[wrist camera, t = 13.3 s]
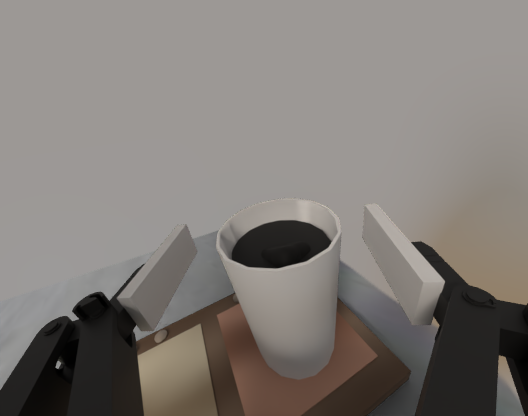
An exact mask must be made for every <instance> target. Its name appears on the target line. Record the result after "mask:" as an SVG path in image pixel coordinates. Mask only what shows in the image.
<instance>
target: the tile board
mask: <svg viewBox="0 0 528 416" xmlns="http://www.w3.org/2000/svg"><path fill="white" fill-rule="evenodd" d="M136 347H137V356H138V365H139V374H140V383H141V392H142V401H143V410H144V416H367V415H368V414H369V413H370V412H371V411H372V410H374V409H375V408H376V407H377V406H378V405H379V404H381V403H382V402H383V401H384V400H385V399H386V398H387V397H389V396H390V395H391V394H392V393H393V392H394V391H395V390H397V389H398V388H399V387H400V386H401V385H402V384H403V383H405V382H406V381H407V380H408V379H409V376H410V373H411V371H410V370H409V369H408V368H407V367H406V366H405V365H404V364H403V363H402V362H401V361H400V360H399V359H398V358H397V357H396V356H395V355H394V354H393V353H392V352H391V351H390V350H389V349H388V348H387V347H386V346H385V345H384V344H383V343H382V342H381V341H380V340H379V339H378V338H377V337H376V336H375V335H374V334H373V333H372V332H371V331H370V330H369V329H368V327H367V326H366V325H365V324H364V323H363V322H362V321H361V320H360V319H359V318H358V317H357V316H356V315H355V314H354V313H353V312H352V311H351V310H350V309H349V308H348V307H347V306H346V305H345V304H344V303H343V302H342V301H341V300H340V299H339V298H338V297H337V309H336V325H335V341H334V350H333V352H332V355H331V357H330V360H329V363H328V364H327V365H326V366H325V367H324V368H323V369H322V370H321V371H320V372H319V373H317V374H316V375H315V376H311V377H307V378H304V379H300V380H297V379H292V378H287V377H283V376H280V375H279V374H278V373H277V372H275V371H274V370H273V369H271V368H270V367H269V366H268V365H267V364H266V362H265V360H264V358H263V356H262V355H261V353H260V351H259V348H258V346H257V343H256V341H255V339H254V336H253V334H252V332H251V329H250V327H249V324H248V322H247V320H246V317H245V315H244V312H243V310H242V308H241V305H240V303H239V300H238V298H237V296H236V293H234V294H232V295H230V296H227V297H225V298H223V299H221V300H219V301H217V302H215V303H213V304H211V305H209V306H207V307H205V308H203V309H201V310H199V311H197V312H195V313H193V314H191V315H189V316H187V317H185V318H183V319H181V320H179V321H177V322H175V323H173V324H171V325H169V326H167V327H165V328H163V329H161V330H159V331H157V332H155V333H152V334H150V335H148V336H146V337H144V338H142V339H140V340H138V341H136Z"/></svg>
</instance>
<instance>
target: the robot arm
mask: <svg viewBox="0 0 528 416" xmlns="http://www.w3.org/2000/svg"><path fill="white" fill-rule="evenodd" d="M363 239H364V241H365V243H366V244H367V246H368V248H369V250H370V252H371V253H372V255H373V257H374V259H375V260H376V262H377V264H378V266H379V267H380V269H381V271H382V273H383V275H384V276H385V278H386V280H387V282H388V283H389V285H390V287H391V289H392V290H393V292H394V294H395V296H396V298H397V299H398V301H399V303H400V305H401V306H402V308H403V310H404V312H405V313H406V315H407V317H408V319H409V321H410V322H411V324H412V325H431V323H432V320H433V317H434V318H435V319H436V321H437V322H438V323H439V325H440V326H439V329H438V332H437V334H436V337H435V343H434V347H433V351H432V354H431V358H430V362H429V366H428V369H427V373H426V377H425V380H424V384H423V388H422V391H421V395H420V399H419V402H418V406H417V410H416V413H415V416H496V398H497V378H498V358H499V355H501V356H504V357H506V360H507V363H508V366H509V368H510V372H511V375H512V378H513V381H514V384H515V387H516V389H517V393H518V396H519V399H520V402H521V405H522V408H523V411H524V414H525V416H528V304H527V305H522V304H516V303H511V302H505V301H500V300H496V299H495V298H494V296H492V295H491V294H489V293H488V292H486V291H484V290H482V289H479V288H477V287H473V286H469V285H468V284H467V283H466V282H465V281H464V280H463V279H462V278H461V277H460V276H459V275H458V274H457V273H456V272H455V271H454V270H453V269H452V268H451V267H450V266H449V265H448V264H447V263H446V262H445V261H444V260H443V259H442V258H441V257H440V256H439V255H438V254H437V252H435V250H434V249H433V248H432V247H430V246H428V245H426V244H425V243H423V242H410V241H409V240H408V239H407V238H406V236H405V235H404V234H403V233H402V232H401V231H400V230H399V229H398V227H397V226H396V225H395V224H394V223H393V222H392V220H391V219H390V218H389V217H388V216H387V215H386V214H385V213H384V211H383V210H382V209H381V208H380V207H379V206H378V205H377V204H367V205H365V206H364V221H363ZM197 252H198V251H197V249H196V247H195V244H194V242H193V239H192V237H191V235H190V232H189V230H188V227H187V226H186V224H185V225H177V226H176V228H174V230H173V231H172V232H171V233H170V235H169V236H168V237H167V238H166V239H165V241H164V242H163V243H162V244H161V245H160V247H159V248H158V249H157V250H156V251H155V253H154V254H153V255H152V256H151V257H150V259H149V260H148V261H147V262H146V263H145V264H143V265H142V266H141V267H139V268H138V269H137V270H136V271H135V272H134V273H133V274H132V275H131V276H130V278H129V279H128V280H127V281H126V283H124V285H123V286H122V287H121V288H120V289H119V291H118V292H117V293H116V294H115V295H114V296H113V298H112V299H111V300H110V301H109V300H108V299H107V297H106V296H105V295H104V294H103V293H102V292H95V293H93V294H90V295H88V296H87V297H85V298H83V299H82V300H81V301H80V302H78V303H77V304H76V306H75V307H74V308H73V310H72V312H73V313H74V314H75V315H76V316H77V317H78V318H79V320H75V321H72V320H71V319H70V318H69V317H68V316H62V317H59V318H57V319H55V320H52V321H51V322H50V323H48V324H46V325H45V326H44V327H43V328H42V329H41V330H40V331H39V332H38V334H37V335H36V336H35V338H34V339H33V341H32V342H31V344H30V346H29V347H28V349H27V350H26V352H25V353H24V355H23V356H22V358H21V359H20V361H19V362H18V364H17V366H16V367H15V369H14V370H13V372H12V373H11V375H10V376H9V378H8V379H7V381H6V382H5V384H4V386H3V387H2V389H1V390H0V416H144V410H143V401H142V392H141V383H140V374H139V365H138V356H137V347H136V338H135V334H134V332H133V329H134V328H135V326H136V325H137V326H138V327H139V329H140V330H141V331H154V329H155V327H156V326H157V324H158V322H159V320H160V318H161V317H162V315H163V313H164V311H165V309H166V308H167V306H168V304H169V302H170V300H171V299H172V297H173V295H174V293H175V291H176V290H177V288H178V286H179V284H180V282H181V281H182V279H183V277H184V275H185V273H186V272H187V270H188V268H189V266H190V264H191V263H192V261H193V259H194V257H195V255H196V254H197ZM57 361H60V362H61V365H60V367H59V369H56V368H55V367H56V363H57Z"/></svg>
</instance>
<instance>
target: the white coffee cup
mask: <svg viewBox="0 0 528 416" xmlns="http://www.w3.org/2000/svg"><path fill="white" fill-rule="evenodd" d="M340 246H341V227H340V220H339V218H338V216H337V215H335V213H333V211H332V210H331V209H330V208H329V207H326V206H324V205H322V204H319V203H317V202H314V201H310V200H303V199H296V198H290V199H274V200H270V201H265V202H261V203H257V204H254V205H252V206H250V207H247V208H245V209H243V210H240V211H239V212H237V213H236V214H235V215H233V216H232V217H230V218H229V219H228V220H226V222H225V223H224V224H223V226H222V227H221V229H220V230H219V231H218V233H217V242H216V248H217V250H218V253H219V255H220V257H221V260H222V262H223V265H224V267H225V269H226V272H227V274H228V277H229V279H230V281H231V284H232V286H233V289H234V291H235V293H236V296H237V298H238V300H239V303H240V305H241V308H242V310H243V312H244V315H245V317H246V320H247V322H248V324H249V327H250V329H251V332H252V334H253V336H254V339H255V341H256V343H257V346H258V348H259V351H260V353H261V355H262V356H263V358H264V360H265V362H266V364H267V365H268V366H269V367H270V368H271V369H273V370H274V371H275V372H277V373H278V374H279V375H280V376H283V377H287V378H292V379H297V380H300V379H304V378H307V377H311V376H315V375H316V374H317V373H319V372H320V371H321V370H322V369H323V368H324V367H325V366H326V365H327V364H328V363H329V360H330V357H331V355H332V352H333V350H334V341H335V325H336V309H337V293H338V278H339V262H340Z"/></svg>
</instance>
